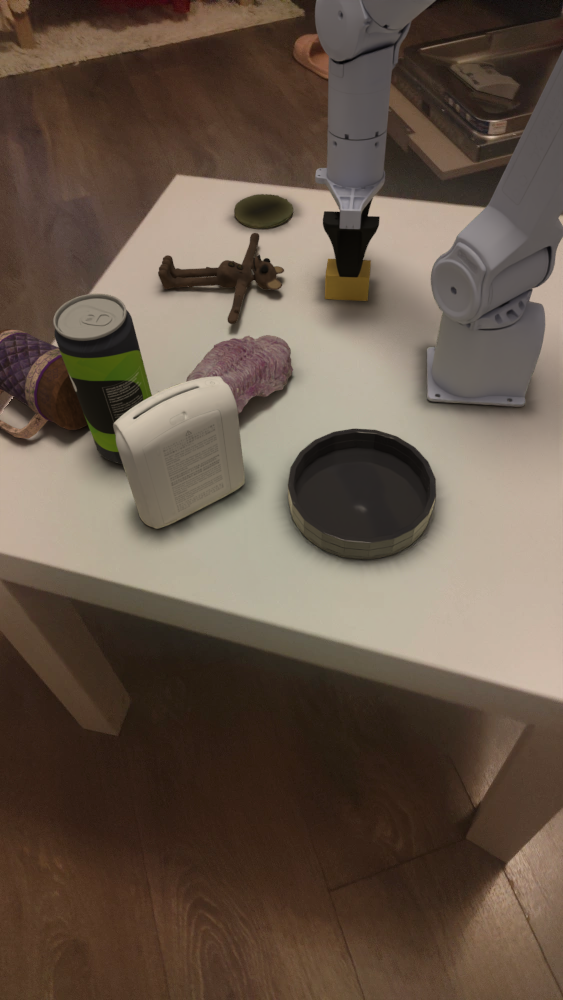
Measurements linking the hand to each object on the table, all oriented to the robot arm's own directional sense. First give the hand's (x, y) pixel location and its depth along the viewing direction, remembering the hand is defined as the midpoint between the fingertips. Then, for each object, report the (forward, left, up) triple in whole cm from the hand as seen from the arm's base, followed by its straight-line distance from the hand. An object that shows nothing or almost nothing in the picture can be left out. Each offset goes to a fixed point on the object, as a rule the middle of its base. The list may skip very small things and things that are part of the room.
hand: (350, 255), depth 74 cm
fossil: (+10, +18, -5) cm, 21 cm away
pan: (-3, +31, -5) cm, 31 cm away
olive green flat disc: (+13, -17, -4) cm, 21 cm away
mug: (+24, +26, -2) cm, 35 cm away
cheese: (0, 0, -5) cm, 5 cm away
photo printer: (+12, +32, -5) cm, 34 cm away
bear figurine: (+15, 0, -5) cm, 16 cm away
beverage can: (+19, +26, -5) cm, 33 cm away
